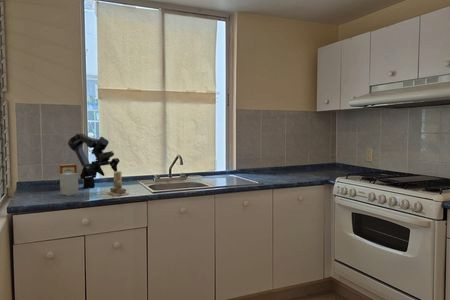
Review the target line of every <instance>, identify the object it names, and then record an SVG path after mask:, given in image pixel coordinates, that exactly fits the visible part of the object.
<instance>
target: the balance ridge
mask: <svg viewBox="0 0 450 300" xmlns="http://www.w3.org/2000/svg"><path fill="white" fill-rule="evenodd" d="M109 188H110V191H107V192H106V195H110V196H116V197H122V196H126V195H130V192H128V191H126V188H123V187H122V188H121V189H114V186H112V187H109Z"/></svg>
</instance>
